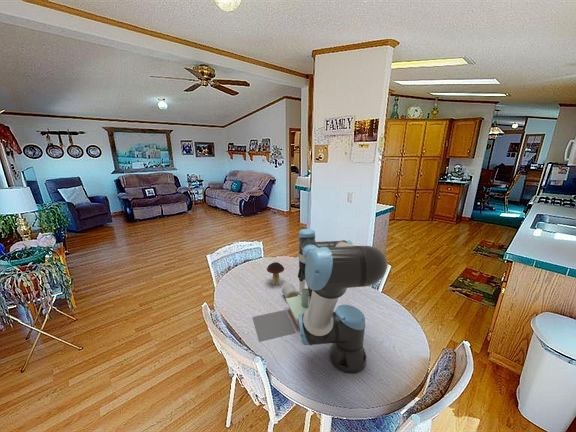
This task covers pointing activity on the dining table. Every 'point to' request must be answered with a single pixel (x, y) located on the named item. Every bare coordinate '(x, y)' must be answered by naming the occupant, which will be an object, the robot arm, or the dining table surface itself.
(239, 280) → the dining table surface
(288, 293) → the ceramic mug
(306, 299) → the lid
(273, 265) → the decorative mushroom
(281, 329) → the mat
